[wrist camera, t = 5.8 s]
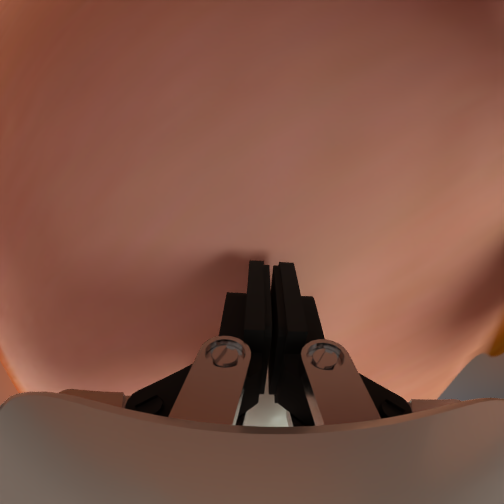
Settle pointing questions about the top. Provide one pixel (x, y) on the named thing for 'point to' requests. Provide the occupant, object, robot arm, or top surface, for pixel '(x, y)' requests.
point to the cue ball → (266, 412)
